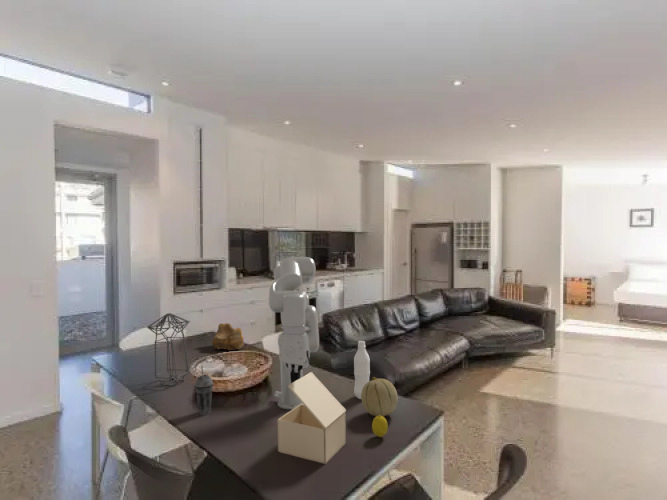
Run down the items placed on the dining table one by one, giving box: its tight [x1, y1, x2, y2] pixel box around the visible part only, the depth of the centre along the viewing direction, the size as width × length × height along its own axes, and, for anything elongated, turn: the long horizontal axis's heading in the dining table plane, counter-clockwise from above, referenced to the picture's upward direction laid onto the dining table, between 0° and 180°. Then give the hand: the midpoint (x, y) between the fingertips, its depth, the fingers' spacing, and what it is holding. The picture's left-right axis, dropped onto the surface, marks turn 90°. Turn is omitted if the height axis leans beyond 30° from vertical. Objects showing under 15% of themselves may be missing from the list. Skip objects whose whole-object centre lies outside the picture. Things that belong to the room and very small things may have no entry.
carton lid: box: [288, 371, 347, 428], centre depth 148 cm, size 18×15×1 cm
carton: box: [276, 404, 347, 465], centre depth 150 cm, size 18×15×11 cm
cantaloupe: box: [360, 376, 399, 417], centre depth 176 cm, size 15×15×15 cm
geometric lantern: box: [147, 312, 191, 385], centre depth 219 cm, size 16×16×35 cm
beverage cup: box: [194, 365, 214, 416], centre depth 181 cm, size 7×7×20 cm
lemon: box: [371, 415, 389, 438], centre depth 157 cm, size 6×6×8 cm
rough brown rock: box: [211, 322, 245, 351], centre depth 284 cm, size 23×17×15 cm
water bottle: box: [353, 340, 371, 400], centre depth 196 cm, size 7×7×25 cm
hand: (295, 382), depth 152 cm, fingers closed
